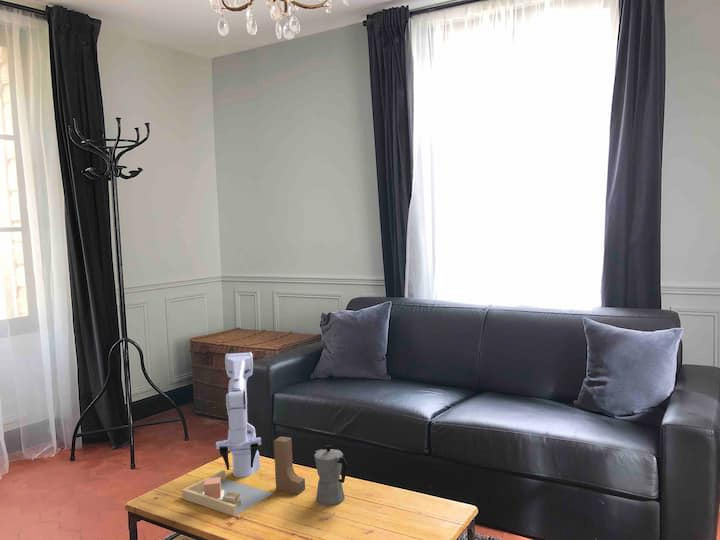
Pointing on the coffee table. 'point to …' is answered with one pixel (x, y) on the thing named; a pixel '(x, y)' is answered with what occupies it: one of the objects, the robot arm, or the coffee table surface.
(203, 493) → the pad
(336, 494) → the coffeepot
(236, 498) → the ash block
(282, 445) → the wooden block
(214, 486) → the terracotta cube
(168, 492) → the coffee table surface
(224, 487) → the arena board
